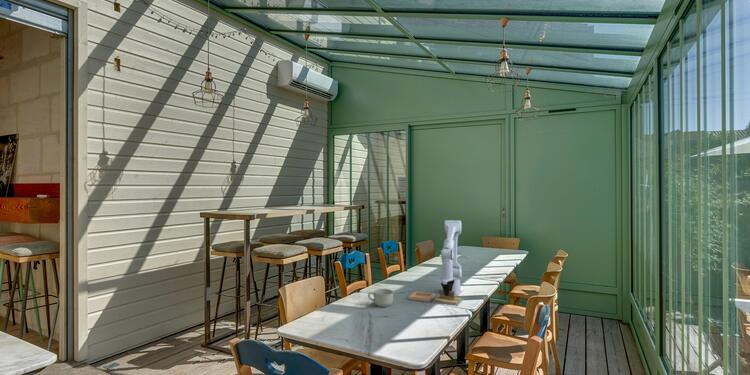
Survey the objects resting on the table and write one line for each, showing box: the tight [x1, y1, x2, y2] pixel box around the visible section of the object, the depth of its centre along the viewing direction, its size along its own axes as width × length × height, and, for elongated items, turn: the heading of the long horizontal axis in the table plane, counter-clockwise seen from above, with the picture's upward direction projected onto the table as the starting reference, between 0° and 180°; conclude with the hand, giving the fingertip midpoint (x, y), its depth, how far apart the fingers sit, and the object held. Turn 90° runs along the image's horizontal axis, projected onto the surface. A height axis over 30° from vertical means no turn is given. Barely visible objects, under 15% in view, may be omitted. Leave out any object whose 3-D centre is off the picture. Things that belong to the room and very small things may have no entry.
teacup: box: [367, 288, 394, 308], centre depth 214 cm, size 14×11×8 cm
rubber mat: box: [432, 298, 464, 307], centre depth 220 cm, size 14×14×1 cm
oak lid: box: [432, 289, 462, 304], centre depth 221 cm, size 13×13×5 cm
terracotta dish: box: [407, 291, 436, 303], centre depth 227 cm, size 12×12×2 cm
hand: (448, 294), depth 220 cm, fingers open, 5 cm apart
